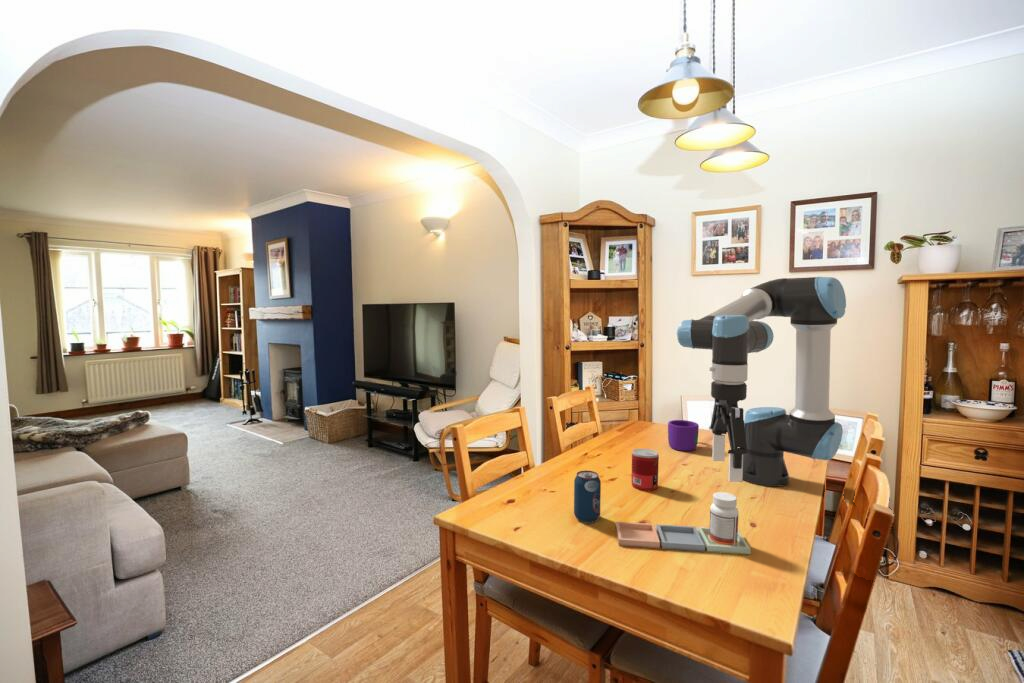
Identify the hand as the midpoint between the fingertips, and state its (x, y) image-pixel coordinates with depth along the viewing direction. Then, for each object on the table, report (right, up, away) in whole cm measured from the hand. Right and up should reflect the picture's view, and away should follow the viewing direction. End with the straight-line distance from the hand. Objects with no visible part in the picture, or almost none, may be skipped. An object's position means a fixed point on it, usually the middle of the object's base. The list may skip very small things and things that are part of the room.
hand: (726, 470), depth 114 cm
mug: (+18, -12, +79) cm, 82 cm away
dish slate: (-10, -18, +3) cm, 21 cm away
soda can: (-31, -17, +15) cm, 38 cm away
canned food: (-9, -15, +37) cm, 41 cm away
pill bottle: (0, -18, +1) cm, 18 cm away
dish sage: (0, -18, +1) cm, 18 cm away
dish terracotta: (-20, -17, +4) cm, 27 cm away
